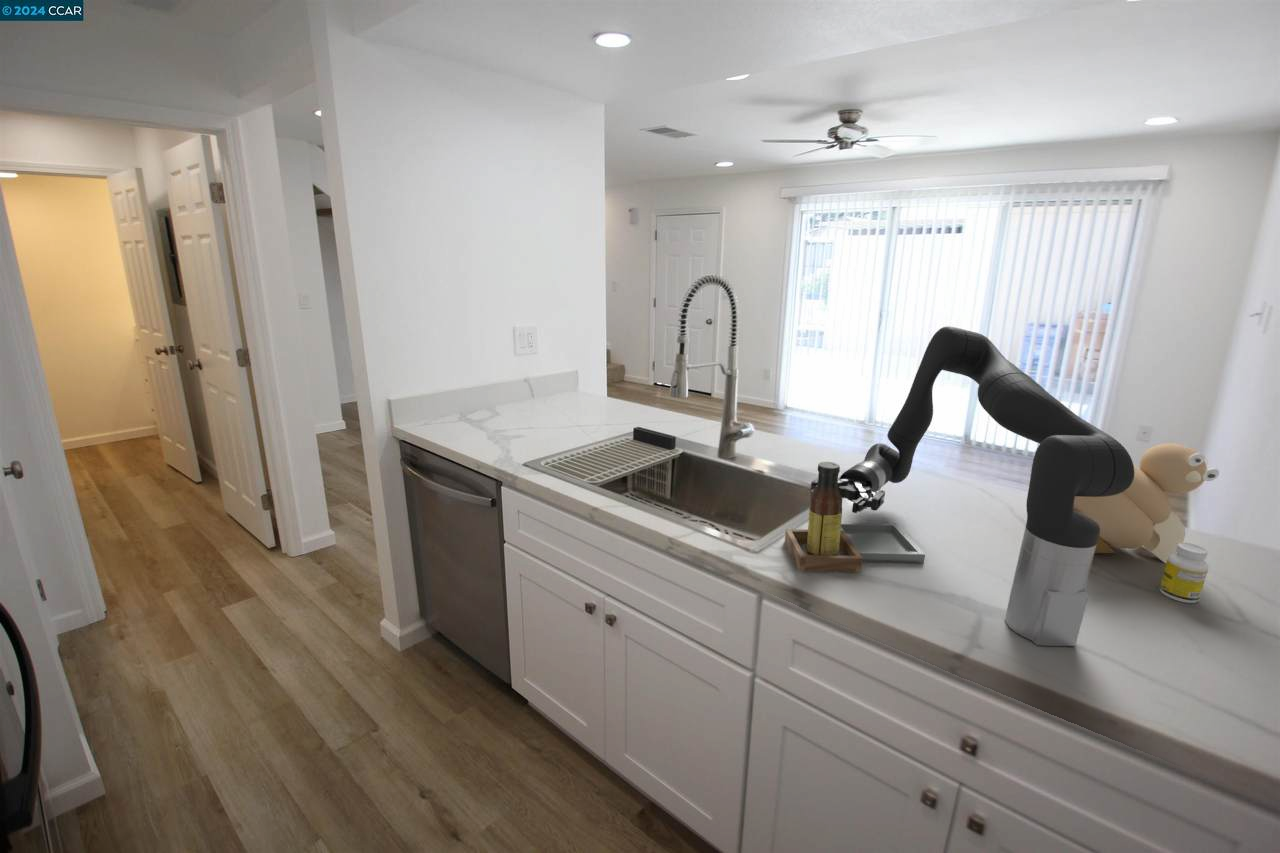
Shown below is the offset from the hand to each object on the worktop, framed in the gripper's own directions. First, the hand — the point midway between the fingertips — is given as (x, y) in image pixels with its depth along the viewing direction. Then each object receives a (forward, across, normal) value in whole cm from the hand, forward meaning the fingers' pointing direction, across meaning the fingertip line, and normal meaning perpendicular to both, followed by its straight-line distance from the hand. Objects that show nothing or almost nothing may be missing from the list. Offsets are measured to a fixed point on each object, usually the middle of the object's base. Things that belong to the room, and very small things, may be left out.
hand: (833, 502), depth 116 cm
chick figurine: (-42, +42, +11) cm, 60 cm away
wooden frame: (+3, 0, +11) cm, 11 cm away
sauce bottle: (+3, 0, +11) cm, 12 cm away
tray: (-9, +7, +11) cm, 16 cm away
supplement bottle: (-28, +55, +11) cm, 63 cm away
